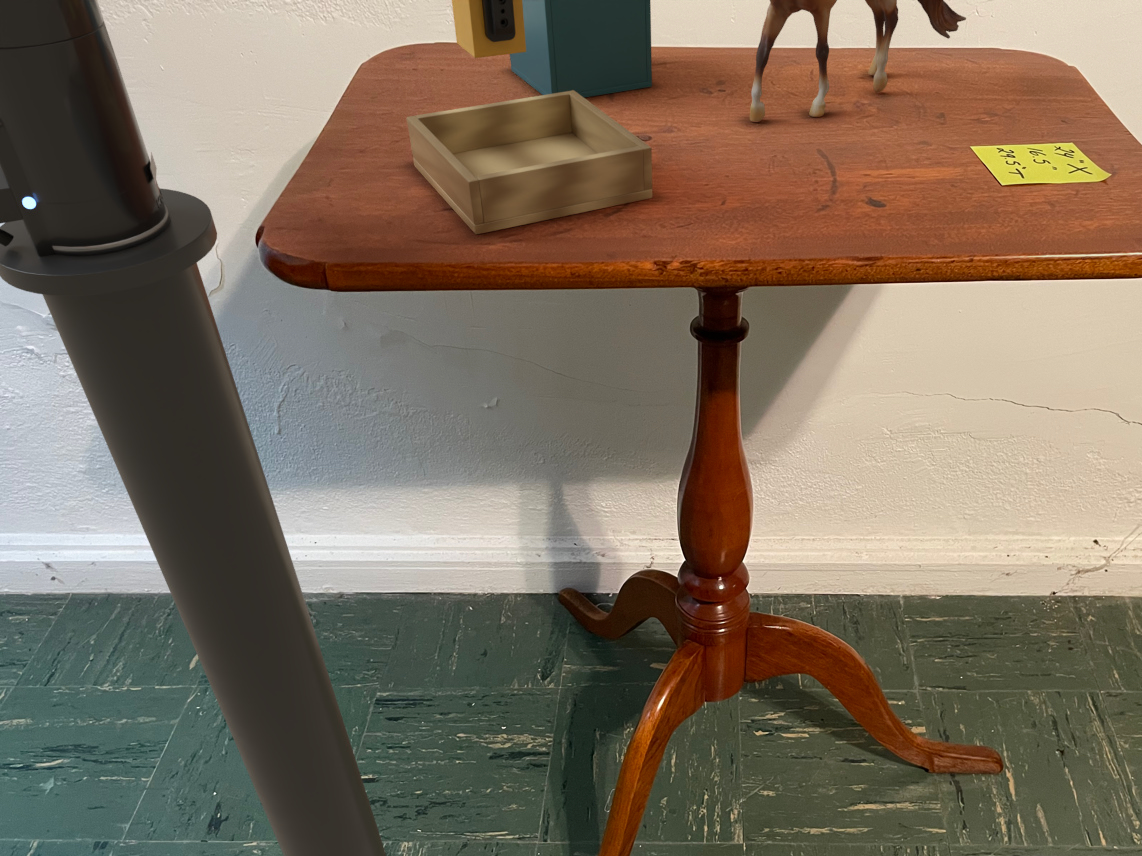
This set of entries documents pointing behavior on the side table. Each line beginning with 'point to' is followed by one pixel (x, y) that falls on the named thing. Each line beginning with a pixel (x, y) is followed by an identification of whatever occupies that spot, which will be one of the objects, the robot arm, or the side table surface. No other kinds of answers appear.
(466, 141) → the box
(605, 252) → the side table surface
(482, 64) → the side table surface
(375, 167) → the side table surface
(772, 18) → the horse figurine
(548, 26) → the teal upright container
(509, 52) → the block
